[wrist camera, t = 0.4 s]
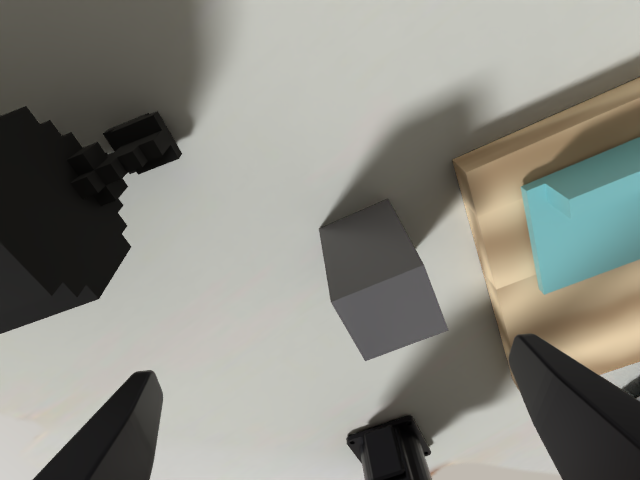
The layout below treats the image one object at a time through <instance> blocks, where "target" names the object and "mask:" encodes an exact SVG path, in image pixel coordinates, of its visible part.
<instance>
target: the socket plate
mask: <svg viewBox="0 0 640 480" xmlns="http://www.w3.org/2000/svg"><path fill="white" fill-rule="evenodd" d="M638 137H640V77H639V78H637V79H635V80H632V81H630V82H628V83H626V84H623V85H621V86H619V87H617V88H614V89H612V90H610V91H607V92H605V93H603V94H601V95H598V96H596V97H594V98H591V99H589V100H587V101H585V102H582V103H580V104H578V105H576V106H573V107H571V108H569V109H566V110H564V111H562V112H560V113H557V114H555V115H553V116H551V117H548V118H546V119H544V120H541V121H539V122H537V123H535V124H532V125H530V126H528V127H525V128H523V129H521V130H519V131H516V132H514V133H512V134H510V135H507V136H505V137H503V138H500V139H498V140H496V141H494V142H491V143H489V144H487V145H485V146H482V147H480V148H478V149H475V150H473V151H471V152H469V153H466V154H464V155H462V156H459V157H457V158H455V159H453V160H452V161H453V165H454V169H455V172H456V176H457V180H458V183H459V187H460V190H461V194H462V198H463V201H464V205H465V209H466V212H467V216H468V219H469V223H470V227H471V230H472V234H473V238H474V241H475V245H476V249H477V252H478V256H479V259H480V263H481V267H482V270H483V274H484V278H485V281H486V285H487V288H488V292H489V296H490V299H491V303H492V307H493V310H494V314H495V318H496V321H497V325H498V328H499V332H500V336H501V339H502V343H503V347H504V350H505V354H506V357H507V361H508V365H509V354H510V350H511V347H512V344H513V341H514V338H515V336H516V335H518V334H528V333H532V334H535V335H537V336H538V337H540V338H542V339H543V340H545V341H546V342H548V343H549V344H551V345H553V346H554V347H556V348H557V349H559V350H560V351H562V352H564V353H565V354H567V355H568V356H570V357H571V358H573V359H575V360H576V361H578V362H579V363H581V364H582V365H584V366H586V367H587V368H589V369H590V370H592V371H593V372H595V373H597V374H598V375H601V374H604V373H607V372H610V371H613V370H616V369H619V368H622V367H625V366H628V365H631V364H634V363H637V362H640V259H639V260H637V261H634V262H631V263H629V264H626V265H623V266H620V267H618V268H615V269H612V270H610V271H607V272H604V273H602V274H599V275H596V276H594V277H591V278H588V279H585V280H583V281H580V282H577V283H575V284H572V285H569V286H567V287H564V288H561V289H559V290H556V291H553V292H550V293H548V294H545V295H544V294H543V293H542V292H541V291H540V290H539V287H538V281H537V275H536V270H535V264H534V259H533V253H532V248H531V242H530V237H529V231H528V225H527V220H526V214H525V209H524V203H523V198H522V192H521V186H523V185H526V184H528V183H530V182H533V181H535V180H538V179H540V178H542V177H545V176H547V175H550V174H552V173H554V172H557V171H559V170H562V169H564V168H566V167H569V166H571V165H574V164H576V163H578V162H581V161H583V160H586V159H588V158H590V157H593V156H595V155H598V154H600V153H602V152H605V151H607V150H610V149H612V148H614V147H617V146H619V145H622V144H624V143H626V142H629V141H631V140H634V139H636V138H638ZM509 368H510V365H509ZM510 372H511V376H512V379H513V381H514V383H515V384H516V386H517V388H518V385H517V383H516V380H515V378H514V375H513V373H512V371H511V368H510ZM518 389H519V388H518ZM519 391H520V390H519Z"/></svg>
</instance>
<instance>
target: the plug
mask: <svg viewBox="0 0 640 480" xmlns="http://www.w3.org/2000/svg"><path fill="white" fill-rule="evenodd" d="M319 232H320V238H321V244H322V250H323V256H324V262H325V268H326V275H327V281H328V287H329V293H330V299H331V303H332V305H333V306H334V308H335V310H336V312H337V313H338V315H339V317H340V318H341V320H342V322H343V324H344V325H345V327H346V329H347V330H348V332H349V334H350V336H351V337H352V339H353V341H354V343H355V344H356V346H357V348H358V349H359V351H360V353H361V355H362V356H363V358H364V360H365V361H367V360H370V359H372V358H375V357H378V356H381V355H383V354H386V353H389V352H391V351H394V350H397V349H399V348H402V347H405V346H407V345H410V344H413V343H416V342H418V341H421V340H424V339H426V338H429V337H432V336H434V335H437V334H440V333H442V332H445V331H448V328H447V325H446V322H445V320H444V317H443V314H442V312H441V309H440V306H439V304H438V301H437V298H436V296H435V293H434V290H433V288H432V285H431V283H430V280H429V277H428V275H427V272H426V269H425V267H424V264H423V262H422V261H421V259H420V257H419V255H418V253H417V251H416V250H415V248H414V246H413V244H412V242H411V240H410V238H409V237H408V235H407V233H406V231H405V229H404V227H403V226H402V224H401V222H400V220H399V218H398V216H397V214H396V213H395V211H394V209H393V207H392V205H391V203H390V202H389V200H388V199H386V200H384V201H382V202H379V203H377V204H375V205H372V206H370V207H368V208H365V209H363V210H361V211H359V212H356V213H354V214H352V215H349V216H347V217H345V218H342V219H340V220H338V221H336V222H333V223H331V224H329V225H326V226H324V227H322V228H319Z"/></svg>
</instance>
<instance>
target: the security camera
mask: <svg viewBox="0 0 640 480" xmlns="http://www.w3.org/2000/svg"><path fill="white" fill-rule="evenodd" d="M103 135H104V136H105V138H106V139H107V141H108V142H109V144H110V145H111V147H112V148H113V150H114V151H115V152H113V153H111V154H107V153H105V152H104V151H103V149H102V148H101V146H100V145H99V143H98V142H97V143H94V144H92V145H89V146H87V147H84V148H82V147H81V145H80V144H79V143H78V141H77V140H76V138H75V137H74V135H73V134H72V133H68V134H66V135H63V136H61V134H60V133H59V132H58V130H57V129H56V127H55V126H54V125H53V123H52V122H51V121H50V120H49V121H47V122H44V123H42V124H39V123H38V121H37V120H36V119H35V117H34V116H33V115H32V113H31V112H30V111H29V109H28V108H27V107H26V106H25V107H23V108H20V109H18V110H15V111H13V112H10V113H8V114H5V115H3V116H0V334H1V333H4V332H7V331H10V330H13V329H16V328H18V327H21V326H24V325H27V324H30V323H33V322H35V321H38V320H41V319H44V318H47V317H49V316H52V315H55V314H58V313H61V312H64V311H66V310H69V309H72V308H75V307H78V306H81V305H83V304H86V303H89V302H92V301H95V300H97V299H99V298H100V296H101V295H102V293H103V291H104V290H105V288H106V287H107V285H108V283H109V282H110V280H111V279H112V277H113V275H114V274H115V272H116V271H117V269H118V267H119V266H120V264H121V262H122V261H123V259H124V258H125V256H126V254H127V253H128V251H129V250H130V248H131V246H130V244H129V243H128V242H127V240H126V239H125V238H124V236H123V235H122V233H123V231H124V230H125V228H126V227H127V225H126V223H125V222H124V221H123V219H122V218H121V217H120V215H119V214H118V212H119V210H120V209H121V208H122V207H123V204H122V203H121V201H120V200H119V199H118V198H119V197H120V195H121V194H122V193H123V192H124V191H125V190H126V188H127V187H128V186H127V184H126V183H125V181H124V180H123V179H122V178H123V177H124V176H125V175H126V174H127V173H128V172H129V174H131V173H134V172H137V173H138V174H141V173H143V172H146V171H148V170H151V169H154V168H156V167H159V166H161V165H164V164H166V163H169V162H172V161H174V160H177V159H179V158H180V156H181V155H182V153H181V151H180V149H179V147H178V146H177V144H176V142H175V140H174V139H173V137H172V135H171V133H170V132H169V130H168V128H167V126H166V125H165V123H164V121H163V119H162V118H161V116H160V114H159V112H158V111H157V112H155V113H152V114H150V115H149V113H148V114H145V115H143V116H140V117H138V118H135V119H133V120H130V121H128V122H125V123H123V124H121V125H118V126H116V127H113V128H111V129H108V130H107V131H106V132H104V133H103Z"/></svg>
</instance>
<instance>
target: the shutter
mask: <svg viewBox="0 0 640 480" xmlns="http://www.w3.org/2000/svg"><path fill="white" fill-rule="evenodd" d="M521 192H522V198H523V203H524V209H525V214H526V220H527V225H528V231H529V237H530V242H531V248H532V253H533V259H534V264H535V270H536V275H537V281H538V287H539V290H540V291H541V292H542V293H543V294H544V295H545V294H548V293H550V292H553V291H556V290H559V289H561V288H564V287H567V286H569V285H572V284H575V283H577V282H580V281H583V280H585V279H588V278H591V277H594V276H596V275H599V274H602V273H604V272H607V271H610V270H612V269H615V268H618V267H620V266H623V265H626V264H629V263H631V262H634V261H637V260H639V259H640V137H638V138H636V139H634V140H631V141H629V142H626V143H624V144H622V145H619V146H617V147H614V148H612V149H610V150H607V151H605V152H602V153H600V154H598V155H595V156H593V157H590V158H588V159H586V160H583V161H581V162H578V163H576V164H574V165H571V166H569V167H566V168H564V169H562V170H559V171H557V172H554V173H552V174H550V175H547V176H545V177H542V178H540V179H538V180H535V181H533V182H530V183H528V184H526V185H523V186H521Z"/></svg>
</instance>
